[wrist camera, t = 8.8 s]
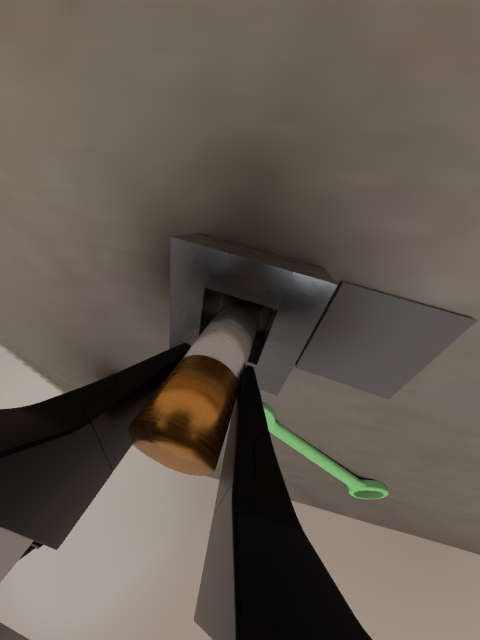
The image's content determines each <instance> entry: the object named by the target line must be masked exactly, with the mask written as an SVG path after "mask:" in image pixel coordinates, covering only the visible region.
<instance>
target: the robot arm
mask: <svg viewBox="0 0 480 640" xmlns="http://www.w3.org/2000/svg"><path fill="white" fill-rule="evenodd" d="M190 348H191V345H189V344H187V343H182V344H180V345H178V346H176V347H173V348H171V349H169V350H167V351H164V352H162V353H160V354H158V355H155V356H153V357H151V358H149V359H146V360H144V361H142V362H140V363H138V364H135V365H133V366H131V367H129V368H126V369H124V370H122V371H120V372H117V373H115V374H113V375H111V376H108V377H106V378H104V379H101V380H99V381H96V382H94V383H91V384H89V385H86V386H84V387H81V388H78V389H75V390H73V391H70V392H67V393H65V394H62V395H60V396H56V397H54V398H51V399H48V400H46V401H43V402H40V403H37V404H33V405H30V406H25V407H19V408H12V409H0V582H1V581H2V580H3V579H4V577H5V576H6V575H7V573H8V572H9V571H10V570H11V569H12V567H13V566H14V565H15V564H16V562H17V561H18V560H20V559H21V558H22V557H24V556H25V555H27V554H28V553H29V552H31V551H32V550H33V549H35V548H37V549H38V548H40V547H41V546H42V545H46V546H48V547H51V548H53V549H56V550H57V549H58V548H59V546H60V545H61V544H62V543H63V541H64V540H65V538H66V537H67V536H68V534H69V533H70V531H71V530H72V529H73V527H74V526H75V524H76V523H77V521H78V520H79V519H80V517H81V516H82V515H83V513H84V512H85V510H86V509H87V508H88V506H89V505H90V503H91V502H92V500H93V499H94V498H95V496H96V495H97V493H98V492H99V491H100V489H101V488H102V486H103V485H104V484H105V482H106V481H107V479H108V478H109V477H110V475H111V474H112V472H113V470H114V469H115V468H116V467H117V465H118V464H119V462H120V461H121V459H122V458H123V457H124V455H125V454H126V453H127V451H128V449H129V448H130V447H131V446H132V444H133V443H134V442H133V441H132V439H131V437H130V435H129V433H128V427H129V425H130V424H131V422H132V421H133V420H134V419H135V417H136V416H137V415H138V413H139V412H140V411H141V410H142V408H143V407H144V406H145V405H146V403H147V402H148V401H149V400H150V398H151V397H152V396H153V394H154V393H155V392H156V391H157V389H158V388H159V387H160V386H161V384H162V383H163V382H164V381H165V379H166V378H167V377H168V375H169V374H170V373H171V372H172V370H173V369H174V368H175V367H176V365H177V364H178V363H179V362H180V360H181V359H182V358H183V357H184V355H185V354H186V353H187V351H188V350H189V349H190ZM213 515H214V516H213V520H212V525H211V530H210V536H209V541H208V547H207V552H206V557H205V563H204V568H203V573H202V579H201V584H200V590H199V595H198V601H197V606H196V611H195V616H194V621H195V622H196V623H197V624H198V625H199V626H200V627H201V628H202V629H203V630H204V631H205V632H206V633H207V634H208V635H209V636H210V637H211V638H212V640H372V639H371V637H370V636H369V635H368V634H367V633H366V631H365V630H364V629H363V627H362V626H361V624H360V623H359V621H358V620H357V619H356V617H355V615H354V614H353V612H352V610H351V609H350V607H349V606H348V604H347V602H346V601H345V599H344V597H343V596H342V594H341V592H340V591H339V589H338V587H337V586H336V584H335V583H334V581H333V579H332V578H331V576H330V575H329V573H328V571H327V570H326V568H325V566H324V564H323V563H322V561H321V559H320V558H319V556H318V555H317V553H316V551H315V550H314V548H313V546H312V545H311V543H310V541H309V540H308V538H307V536H306V535H305V533H304V531H303V529H302V527H301V525H300V523H299V521H298V518H297V516H296V514H295V511H294V508H293V505H292V502H291V499H290V497H289V494H288V491H287V488H286V485H285V482H284V479H283V476H282V473H281V470H280V468H279V465H278V461H277V458H276V455H275V452H274V448H273V445H272V441H271V437H270V433H269V429H268V425H267V420H266V416H265V412H264V408H263V403H262V399H261V395H260V391H259V387H258V382H257V378H256V374H255V370H254V367H252V366H250V365H246V368H245V371H244V374H243V378H242V381H241V384H240V388H239V391H238V395H237V398H236V402H235V405H234V409H233V412H232V417H231V422H230V428H229V433H228V439H227V444H226V449H225V455H224V460H223V466H222V471H221V476H220V482H219V487H218V493H217V498H216V503H215V509H214V514H213ZM0 640H29V639H27V638H26V637H24V636H22V635H20V634H19V633H17V632H15V631H14V630H12V629H10V628H9V627H7V626H5V625H3V624H2V623H0Z"/></svg>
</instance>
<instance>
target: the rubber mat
mask: <svg viewBox="0 0 480 640" xmlns="http://www.w3.org/2000/svg"><path fill="white" fill-rule="evenodd" d="M476 321H477V320H475V319H473V318H470V317H467V316H463V315H460V314H456V313H453V312H449V311H446V310H442V309H439V308H435V307H432V306H428V305H425V304H421V303H418V302H414V301H411V300H407V299H404V298H400V297H397V296H393V295H390V294H386V293H383V292H379V291H376V290H372V289H369V288H365V287H362V286H358V285H355V284H351V283H348V282H344V281H341V283H340V285H339V287H338V289H337V290H336V292H335V294H334V296H333V298H332V299H331V301H330V303H329V305H328V307H327V308H326V310H325V312H324V314H323V316H322V317H321V319H320V321H319V323H318V325H317V326H316V328H315V330H314V332H313V334H312V336H311V337H310V339H309V341H308V343H307V345H306V346H305V348H304V350H303V352H302V354H301V355H300V357H299V359H298V361H297V363H296V364H295V365H296V368H299V369H302V370H305V371H308V372H311V373H314V374H317V375H320V376H323V377H325V378H328V379H331V380H334V381H337V382H340V383H343V384H346V385H349V386H352V387H355V388H358V389H361V390H363V391H366V392H369V393H372V394H375V395H378V396H381V397H384V398H387V399H389V398H390V397H392V396H393V395H394V394H395V393H396V392H397V391H398V390H399V389H401V388H402V387H403V386H404V385H405V384H406V383H407V382H408V381H410V380H411V379H412V378H413V377H414V376H415V375H416V374H417V373H419V372H420V371H421V370H422V369H423V368H424V367H425V366H426V365H428V364H429V363H430V362H431V361H432V360H433V359H434V358H435V357H437V356H438V355H439V354H440V353H441V352H442V351H443V350H445V349H446V348H447V347H448V346H449V345H450V344H451V343H452V342H454V341H455V340H456V339H457V338H458V337H459V336H460V335H461V334H463V333H464V332H465V331H466V330H467V329H468V328H469V327H470V326H472V325H473V324H474V323H475V322H476Z"/></svg>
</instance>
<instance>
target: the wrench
mask: <svg viewBox="0 0 480 640" xmlns="http://www.w3.org/2000/svg"><path fill="white" fill-rule="evenodd" d="M262 403H263V402H262ZM263 408H264V412H265V416H266V420H267V425H268V429H269V432H271V433H272V434H274V435H275V436H277V437H278V438H280V439H281V440H282V441H284V442H285V443H287V444H288V445H290V446H291V447H293V448H294V449H296V450H297V451H298V452H300V453H301V454H303V455H304V456H306V457H307V458H309V459H310V460H312V461H313V462H314V463H316V464H317V465H319V466H320V467H322V468H323V469H325V470H326V471H328V472H329V473H330V474H332V475H333V476H335V477H336V478H338V479H339V480H341V481H342V482H344V483H345V484H346V485H347V489H348V492H349V494H350V495H352V496H354V497H356V498H361V499H380V498H384V497H386V496H387V495H388V491H387V489H386V487H385V485H383V484H382V483H380V482H378V481H375V480H365V479H363V480H360V479H358V478H357V477H356V476H354V475H353V474H351V473H350V472H348V471H347V470H346V469H344V468H343V467H341V466H340V465H338V464H337V463H336V462H334V461H333V460H331V459H330V458H328V457H327V456H325V455H324V454H323V453H321V452H320V451H318V450H317V449H315V448H314V447H313V446H311V445H310V444H308V443H307V442H305V441H304V440H302V439H301V438H300V437H298V436H297V435H295V434H294V433H292V432H291V431H289V430H288V429H286V428H285V427H283V426H282V425H281V424H279V423H278V422H276V420H275V413H274V411H273V410H272V408H271V407H269V406H268V405H266V404H265V403H263ZM364 490H370V491H377V492H376V493H366V492H362V491H364Z"/></svg>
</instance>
